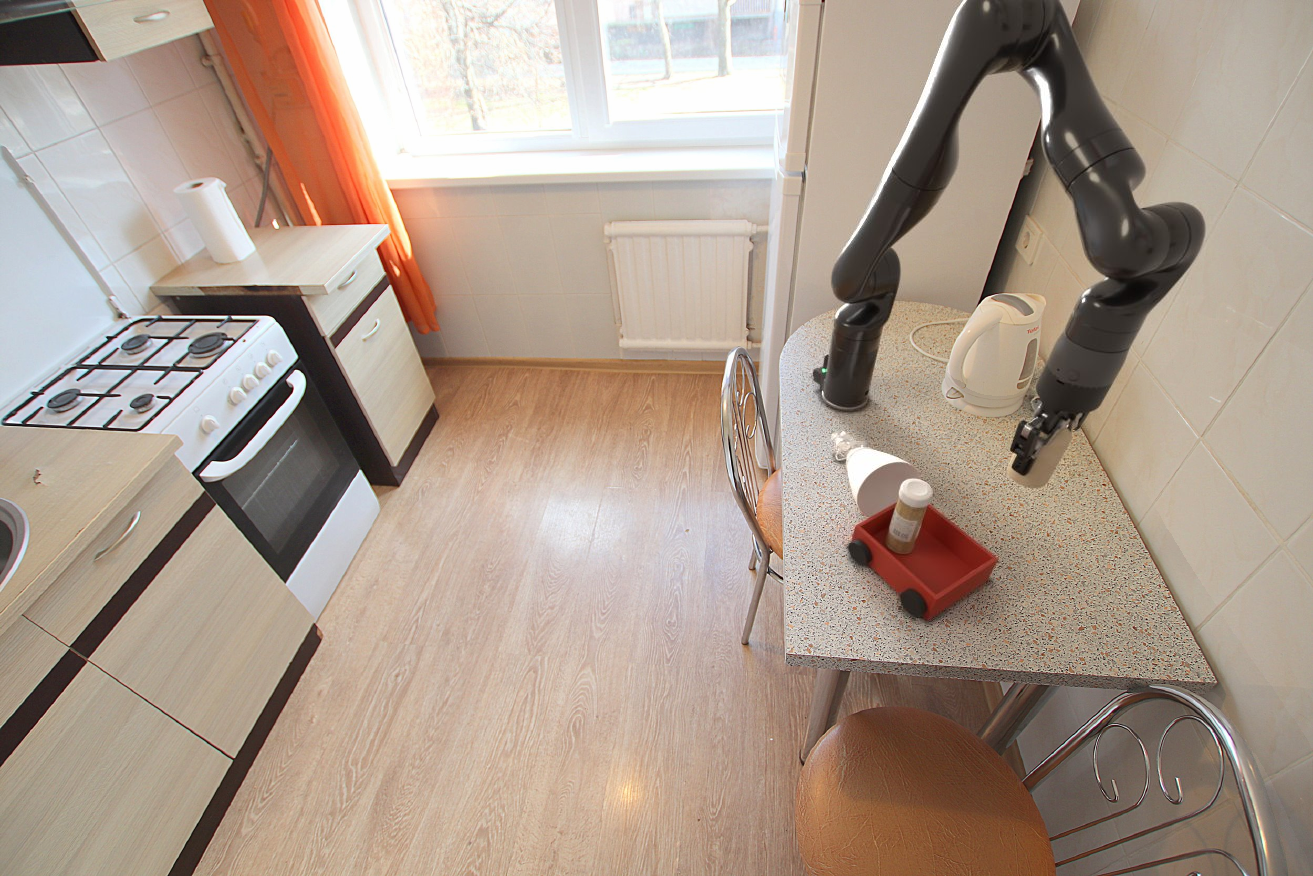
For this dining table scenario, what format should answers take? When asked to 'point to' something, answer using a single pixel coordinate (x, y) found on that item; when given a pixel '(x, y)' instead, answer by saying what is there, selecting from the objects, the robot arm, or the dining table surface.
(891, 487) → the rocket engine
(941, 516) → the cart
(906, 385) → the dining table surface
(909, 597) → the cart wheels
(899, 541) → the sprinkles bottle
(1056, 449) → the candle
